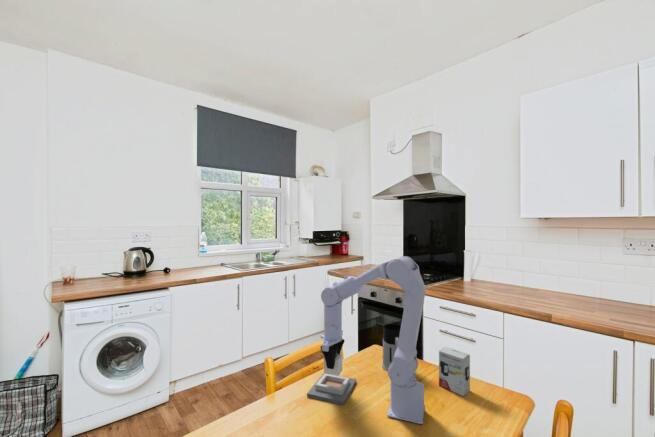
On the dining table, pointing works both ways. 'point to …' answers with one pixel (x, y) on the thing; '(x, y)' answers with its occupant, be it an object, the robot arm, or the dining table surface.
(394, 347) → the glass holder
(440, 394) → the dining table surface
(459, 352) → the ink box
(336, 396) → the socket dock
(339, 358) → the plug
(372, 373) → the dining table surface
